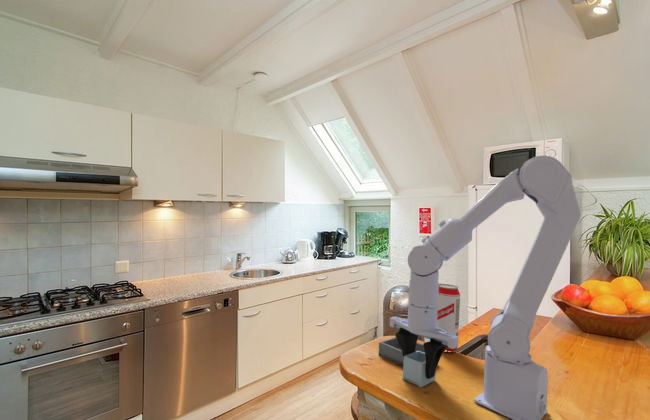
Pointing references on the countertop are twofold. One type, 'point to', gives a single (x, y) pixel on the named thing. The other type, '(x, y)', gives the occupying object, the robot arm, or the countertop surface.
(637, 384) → the countertop surface
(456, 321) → the beer can
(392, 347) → the box
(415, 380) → the small crate
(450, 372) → the countertop surface
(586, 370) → the countertop surface
